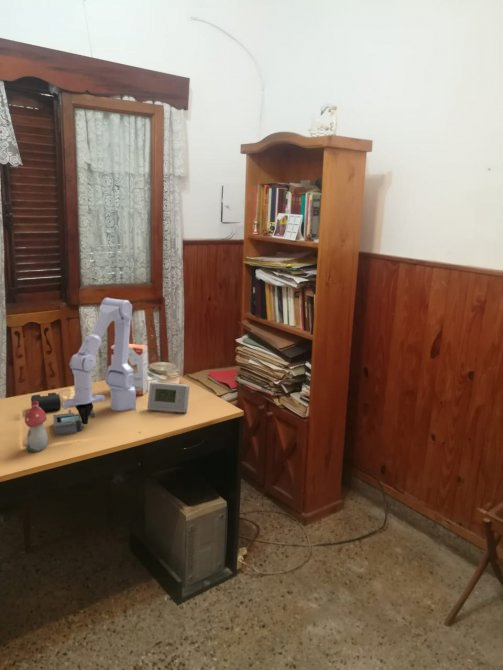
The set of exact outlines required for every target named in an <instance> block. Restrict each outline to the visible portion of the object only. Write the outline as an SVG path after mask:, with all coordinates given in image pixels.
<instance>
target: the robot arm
mask: <svg viewBox="0 0 503 670" xmlns="http://www.w3.org/2000/svg"><path fill="white" fill-rule="evenodd" d="M99 312H100V314H99V316H98V318H97V321H96V323H95V326H94V328H93V331H92V333H91V334H89V335H86V337H85V339H84V340H83V342H82V343H81V346H80V347H79V350H78V351H77V353H75V354H73V355H72V356H71V358H70V362H69V366H70V369H71V371H72V374H73V378H74V379H73V381H74V382H73V383H74V398H71V399H69V400H66V401H65V400H64V401H61V408H62V409H64V410H65V409H67V408H72V407H75V408H76V410H77V412H78V414H80V421H82V424H83V425H87V424H89V423H88V422H89V418H90V415H91V411H92V409H93V410H94V404H93V403H98V402H105V401H106V399H105V398H106V396H105V395H103V394H95V395H93V388H92V387H93V386H92V370H93V369H94V367H95V365H96V360H97V359H96V355H97V353H98V351H99V349H100V347H101V345H102V343H103V342H102V339H101V338H102V337H103V335H104V334H105V332H106V331H107V329H108V327H109V326H110V324H111V323H112V322H114V323H115V330H114V331H115V332H114V344H113V345H114V359H113V364H112V363H111V364H110V365H108V367H107V371H106V374H105V377H104V379H105V380H104V381H105V383H106V385H107V386H108V388H109V389H110V409H111V410H112V411H115V412H119V411H120V412H121V411H127V410H135V412H137V399H136V398H137V395H136V392H135V388H134V387H132V385H133V383H134V376H133V369H132V368H131V367H130V366H129V365H128V363H127V362H128V348H129V344H130V332H131V321H132V317H133V316H132V315H133V314H132V313H133V304H131V302H130V301H129V300H128V299H117V298H112V297H111V298H110V297H104V299H103V300H102V301H101V303H100V306H99Z"/></svg>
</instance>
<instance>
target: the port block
mask: <svg viewBox="0 0 503 670" xmlns="http://www.w3.org/2000/svg"><path fill="white" fill-rule="evenodd" d="M52 416H53V417H52V418H53V420H52V421H53V431H54V436H55V437H56V436H57V437H58V436H64V435H73V434H77V433H78V432H81V431H83V425H82V424H83V423H82V420H81V417H80V414H79V413H77V414H75V413H74V412H71V413H69V412H66V413H60V414H58V413H57V414H53V415H52ZM73 416H79V418H80V420H76V421H74V420H72V421H67V422H61V418H66V417H73Z"/></svg>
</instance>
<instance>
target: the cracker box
mask: <svg viewBox="0 0 503 670" xmlns="http://www.w3.org/2000/svg"><path fill="white" fill-rule="evenodd" d="M110 351H111V352H110V354H111V358H110V359H111V360H110V361H111V365H112V364H113V359H114V344H113V345H111V346H110ZM127 363H128V365H129V366H130V367H131V368H132V369H133V376H134V383H133V385H132V387H134V388H135V392H136V396H144V395H145V394H146V393H147V392H148V391H149V390H148V389H149V387H148V385H149V384H148V381H149V380H148V376H149V375H148V345H146V344H134V343H129V348H128V362H127ZM147 390H148V391H147Z"/></svg>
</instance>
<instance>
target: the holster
mask: <svg viewBox="0 0 503 670" xmlns="http://www.w3.org/2000/svg"><path fill="white" fill-rule="evenodd" d="M94 411H95V410H94V408H93V409H92V411H91V413H90V415H91V418H95V412H94ZM68 413H72V410H71V409H68Z"/></svg>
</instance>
